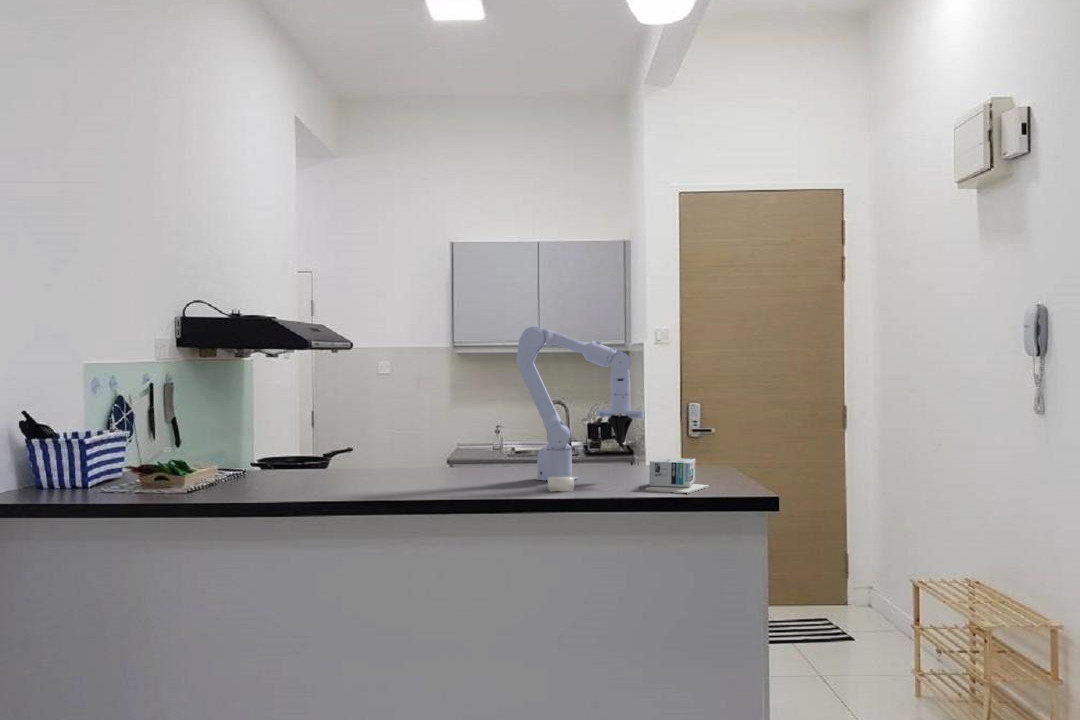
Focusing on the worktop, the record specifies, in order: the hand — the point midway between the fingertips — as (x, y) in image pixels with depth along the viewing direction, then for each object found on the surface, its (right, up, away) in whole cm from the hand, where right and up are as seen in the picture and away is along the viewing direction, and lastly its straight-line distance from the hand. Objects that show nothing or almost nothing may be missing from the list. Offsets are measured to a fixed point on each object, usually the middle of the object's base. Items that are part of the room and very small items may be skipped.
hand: (620, 442), depth 248 cm
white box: (+13, -11, -17) cm, 24 cm away
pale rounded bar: (-17, -11, -16) cm, 26 cm away
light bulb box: (+7, -7, -11) cm, 15 cm away
